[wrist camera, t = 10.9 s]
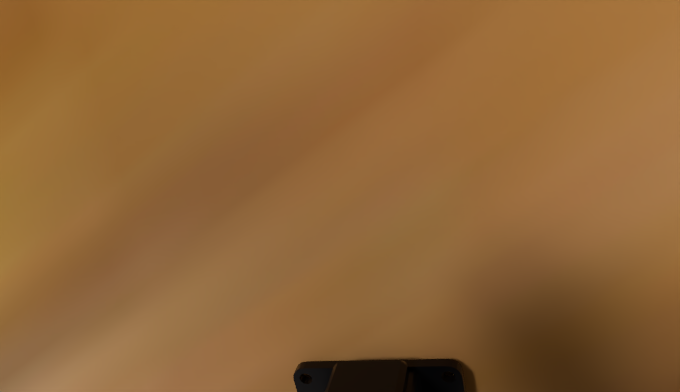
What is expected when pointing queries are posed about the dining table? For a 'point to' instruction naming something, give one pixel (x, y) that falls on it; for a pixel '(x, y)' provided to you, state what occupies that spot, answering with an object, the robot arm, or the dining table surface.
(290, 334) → the dining table surface
